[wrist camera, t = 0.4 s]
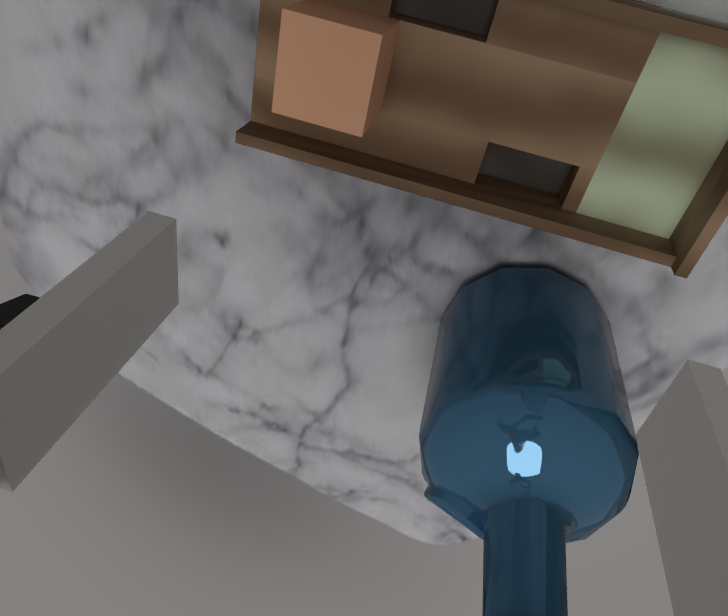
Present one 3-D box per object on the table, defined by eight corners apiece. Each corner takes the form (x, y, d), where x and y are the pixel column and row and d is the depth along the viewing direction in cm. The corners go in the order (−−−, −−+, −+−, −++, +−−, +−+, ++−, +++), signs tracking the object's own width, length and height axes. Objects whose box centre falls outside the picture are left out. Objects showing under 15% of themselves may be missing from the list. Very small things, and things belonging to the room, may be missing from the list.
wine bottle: (526, 224, 42) (537, 640, 18) (646, 333, 45) (797, 822, 20) (406, 327, 49) (297, 717, 25) (514, 415, 52) (511, 843, 28)
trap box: (282, -90, 34) (243, -92, 30) (782, 38, 32) (828, 58, 28) (262, 121, 42) (229, 147, 37) (666, 235, 40) (686, 278, 35)
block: (312, -3, 34) (281, 8, 30) (400, 20, 34) (382, 35, 30) (300, 89, 38) (271, 111, 33) (380, 111, 37) (362, 137, 33)
